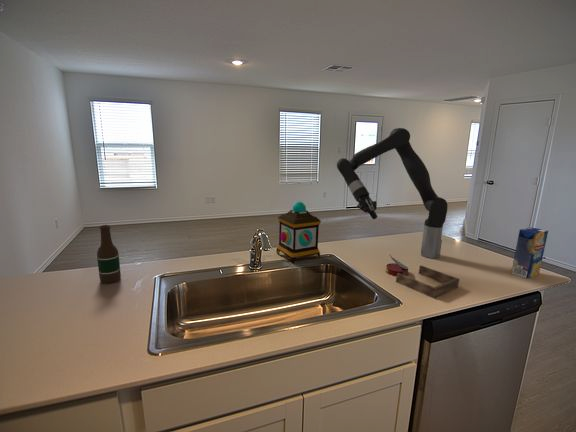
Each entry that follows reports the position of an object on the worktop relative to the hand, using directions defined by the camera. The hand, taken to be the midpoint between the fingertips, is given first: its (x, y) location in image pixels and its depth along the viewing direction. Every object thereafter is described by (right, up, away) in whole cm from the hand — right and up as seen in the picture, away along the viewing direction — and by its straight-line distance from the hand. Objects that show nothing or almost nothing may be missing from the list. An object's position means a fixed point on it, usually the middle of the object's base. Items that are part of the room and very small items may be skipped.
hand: (375, 218), depth 150 cm
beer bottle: (-119, -27, -22) cm, 124 cm away
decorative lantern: (-38, -21, +13) cm, 45 cm away
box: (+17, -29, -18) cm, 38 cm away
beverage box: (+72, -27, -3) cm, 77 cm away
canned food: (+8, -26, -6) cm, 28 cm away
